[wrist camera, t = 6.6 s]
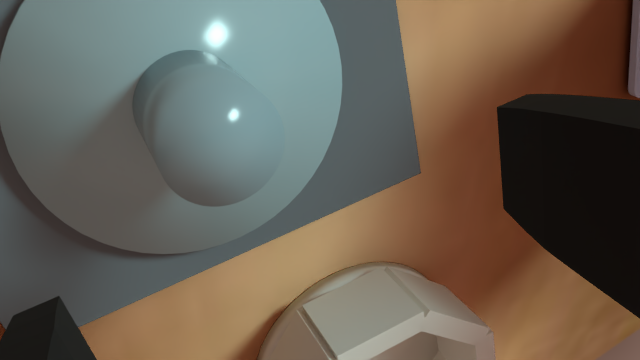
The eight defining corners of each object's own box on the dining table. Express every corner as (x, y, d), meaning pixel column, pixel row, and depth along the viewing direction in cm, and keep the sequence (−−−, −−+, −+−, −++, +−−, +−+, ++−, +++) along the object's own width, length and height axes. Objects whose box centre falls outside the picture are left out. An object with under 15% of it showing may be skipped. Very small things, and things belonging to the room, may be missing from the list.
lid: (290, -127, 16) (359, -130, 13) (359, 170, 20) (421, 222, 17) (-84, -12, 13) (-113, 20, 10) (93, 293, 18) (109, 378, 15)
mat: (355, -221, 16) (363, -224, 15) (414, 168, 22) (420, 172, 22) (-258, -75, 12) (-265, -73, 12) (21, 344, 18) (21, 353, 18)
